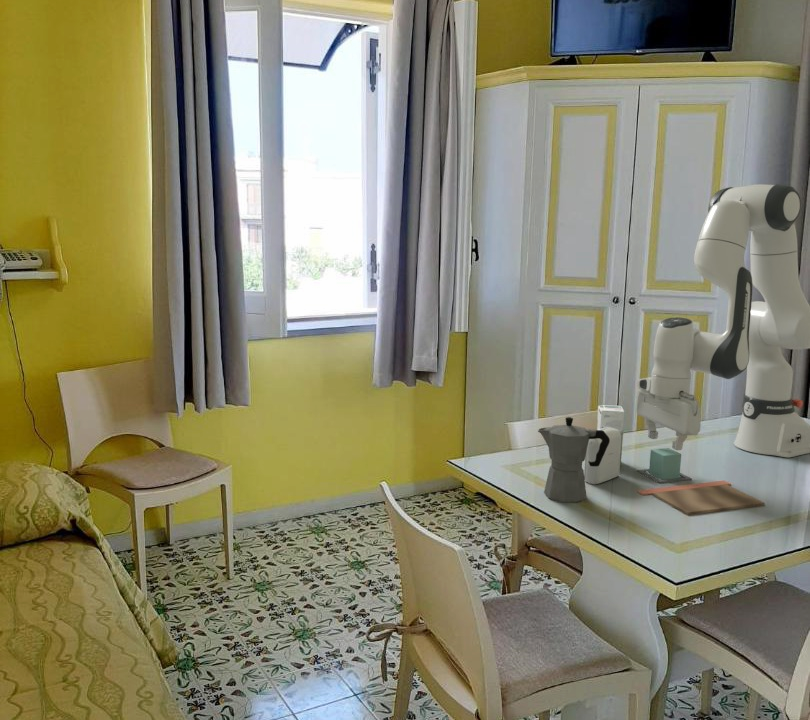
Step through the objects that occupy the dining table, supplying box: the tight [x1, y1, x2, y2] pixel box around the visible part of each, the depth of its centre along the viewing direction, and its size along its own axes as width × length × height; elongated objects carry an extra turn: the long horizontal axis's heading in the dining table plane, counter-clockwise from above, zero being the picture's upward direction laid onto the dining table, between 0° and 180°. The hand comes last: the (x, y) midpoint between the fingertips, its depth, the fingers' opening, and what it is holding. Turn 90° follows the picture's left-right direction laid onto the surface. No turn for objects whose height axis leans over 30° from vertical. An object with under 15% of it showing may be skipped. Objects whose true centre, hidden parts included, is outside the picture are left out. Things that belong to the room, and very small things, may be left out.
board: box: [652, 485, 766, 516], centre depth 176 cm, size 20×12×1 cm, turn 108°
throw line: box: [636, 480, 732, 496], centre depth 183 cm, size 24×2×1 cm, turn 108°
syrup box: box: [596, 404, 626, 467], centre depth 199 cm, size 6×6×14 cm
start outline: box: [636, 468, 693, 484], centre depth 192 cm, size 9×9×1 cm
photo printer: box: [584, 427, 622, 485], centre depth 188 cm, size 10×4×12 cm, turn 132°
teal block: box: [648, 447, 682, 480], centre depth 192 cm, size 5×5×6 cm
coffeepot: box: [537, 416, 610, 504], centre depth 176 cm, size 15×9×18 cm, turn 75°
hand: (664, 443), depth 190 cm, fingers open, 8 cm apart
